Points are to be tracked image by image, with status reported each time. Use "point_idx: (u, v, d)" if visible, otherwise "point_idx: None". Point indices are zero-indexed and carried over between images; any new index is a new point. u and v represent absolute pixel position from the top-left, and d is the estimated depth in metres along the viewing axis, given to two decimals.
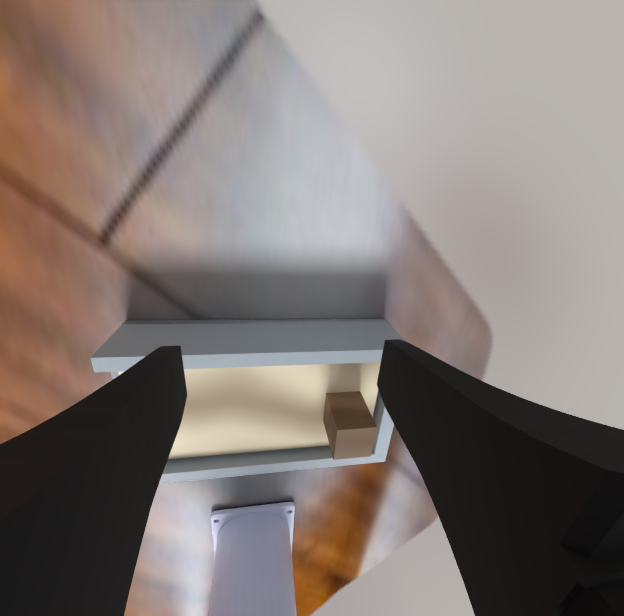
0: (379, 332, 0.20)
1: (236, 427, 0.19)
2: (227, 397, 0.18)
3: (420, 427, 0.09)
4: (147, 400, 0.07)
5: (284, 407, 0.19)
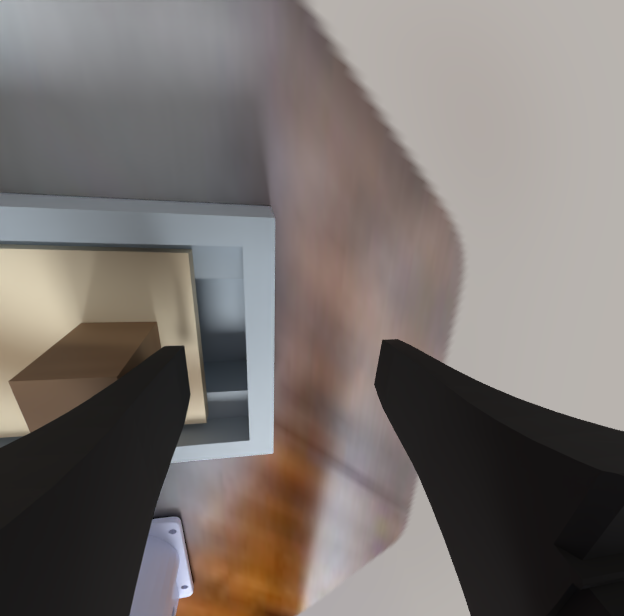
0: (236, 209, 0.11)
1: None
2: None
3: (417, 427, 0.09)
4: (152, 400, 0.07)
5: None
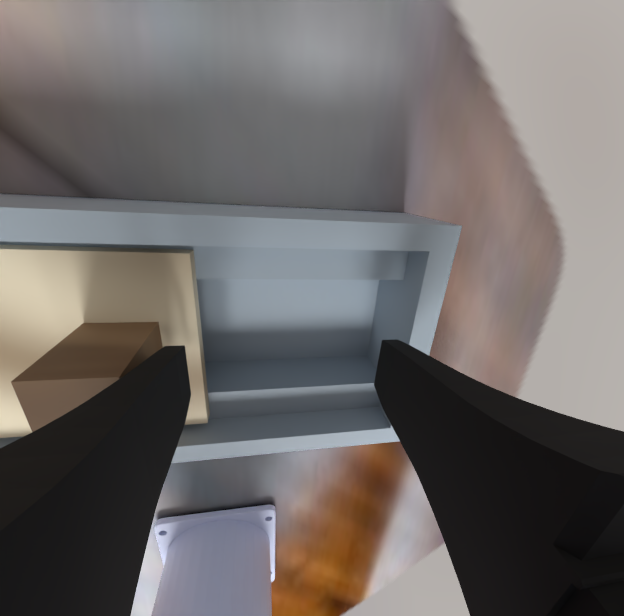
0: (398, 216, 0.12)
1: None
2: None
3: (416, 427, 0.09)
4: (153, 400, 0.07)
5: None
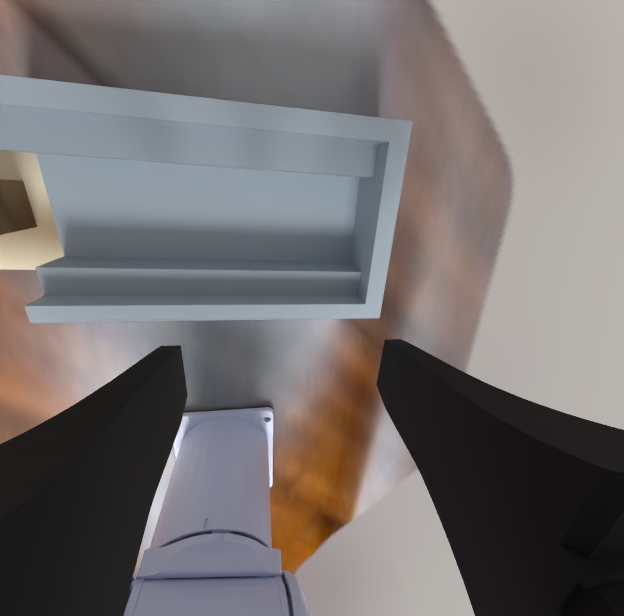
0: None
1: None
2: None
3: (420, 427, 0.09)
4: (147, 400, 0.07)
5: None
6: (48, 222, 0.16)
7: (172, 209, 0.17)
